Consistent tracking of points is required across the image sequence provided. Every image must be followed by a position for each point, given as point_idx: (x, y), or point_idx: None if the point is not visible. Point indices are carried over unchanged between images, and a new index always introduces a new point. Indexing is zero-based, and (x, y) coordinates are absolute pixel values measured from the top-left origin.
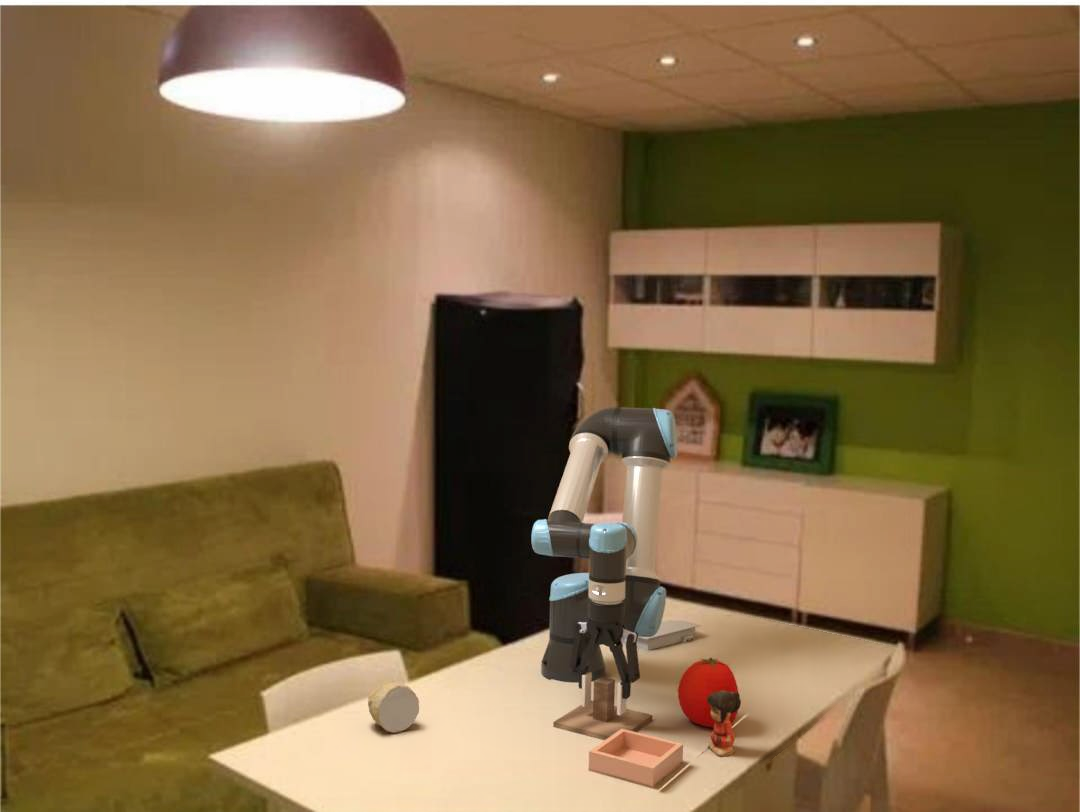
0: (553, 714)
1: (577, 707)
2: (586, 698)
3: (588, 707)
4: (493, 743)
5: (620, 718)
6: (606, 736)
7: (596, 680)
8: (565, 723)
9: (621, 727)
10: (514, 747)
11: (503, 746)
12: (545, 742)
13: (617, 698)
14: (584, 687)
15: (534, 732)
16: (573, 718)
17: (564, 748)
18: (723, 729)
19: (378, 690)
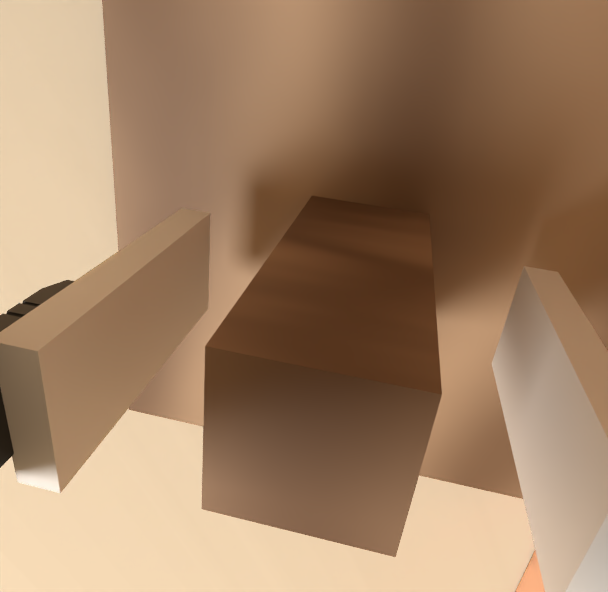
0: (33, 209)
1: (114, 142)
2: (185, 310)
3: (178, 102)
4: (51, 562)
5: (483, 208)
6: (463, 481)
7: (217, 483)
8: (191, 409)
9: None
10: (129, 574)
11: (94, 574)
12: (200, 518)
13: (515, 458)
14: (129, 400)
15: (104, 446)
16: (192, 333)
17: (297, 548)
18: None
19: None
